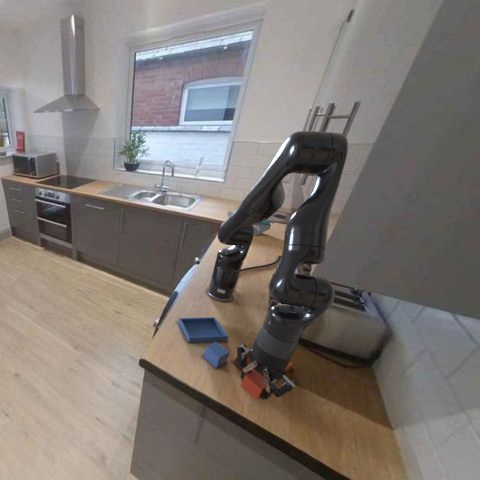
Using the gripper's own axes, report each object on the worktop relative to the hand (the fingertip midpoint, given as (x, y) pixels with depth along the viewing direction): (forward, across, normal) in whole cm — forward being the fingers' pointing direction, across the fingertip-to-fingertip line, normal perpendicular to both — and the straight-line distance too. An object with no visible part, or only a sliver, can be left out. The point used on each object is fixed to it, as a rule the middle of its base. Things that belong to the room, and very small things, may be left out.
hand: (253, 388), depth 69 cm
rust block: (0, 0, 0) cm, 0 cm away
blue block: (+2, +12, 0) cm, 12 cm away
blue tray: (+2, +22, -6) cm, 23 cm away
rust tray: (+2, +4, -11) cm, 12 cm away
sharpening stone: (+3, +69, -103) cm, 124 cm away
